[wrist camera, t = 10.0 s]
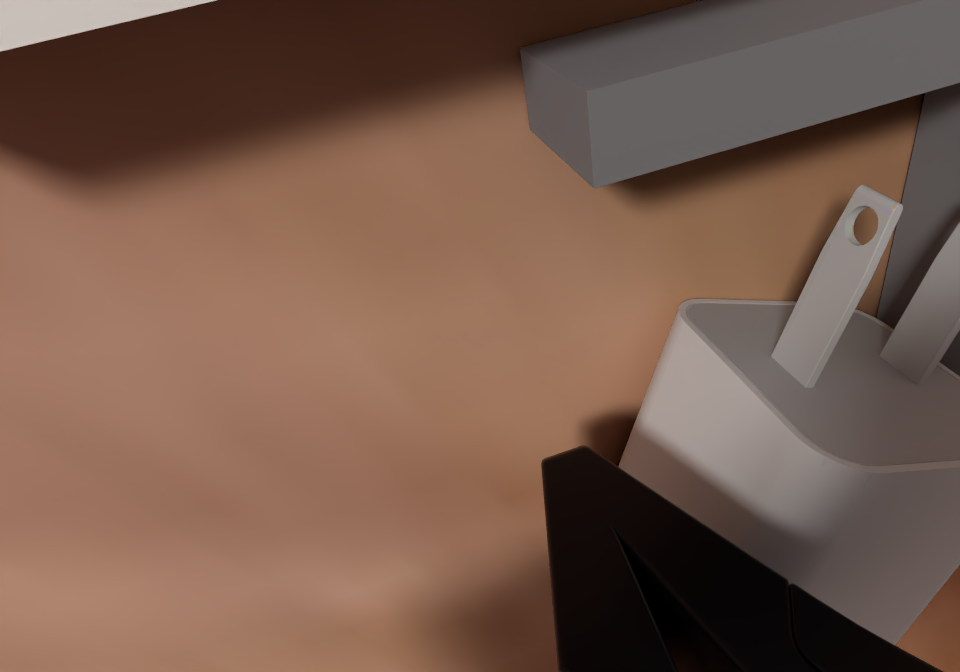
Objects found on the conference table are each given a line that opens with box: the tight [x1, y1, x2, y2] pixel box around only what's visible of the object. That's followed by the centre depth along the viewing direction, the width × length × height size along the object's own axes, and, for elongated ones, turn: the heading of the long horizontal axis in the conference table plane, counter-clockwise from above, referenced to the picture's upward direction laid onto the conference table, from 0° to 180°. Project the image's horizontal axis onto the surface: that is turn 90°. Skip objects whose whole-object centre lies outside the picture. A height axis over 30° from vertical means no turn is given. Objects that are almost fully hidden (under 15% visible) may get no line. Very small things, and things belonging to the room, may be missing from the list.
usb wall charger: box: [618, 185, 960, 645], centre depth 10 cm, size 4×7×4 cm, turn 169°
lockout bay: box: [520, 0, 960, 376], centre depth 11 cm, size 11×7×2 cm, turn 10°
